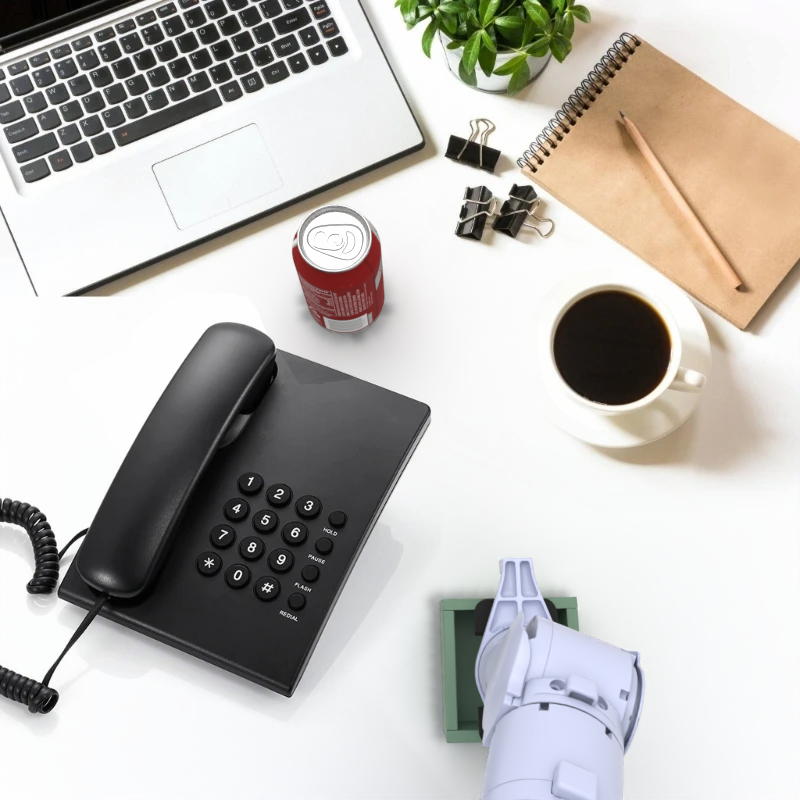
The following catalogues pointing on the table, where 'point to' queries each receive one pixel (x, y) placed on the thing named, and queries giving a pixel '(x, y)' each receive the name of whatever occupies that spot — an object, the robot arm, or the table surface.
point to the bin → (472, 663)
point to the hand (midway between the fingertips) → (506, 665)
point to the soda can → (340, 268)
